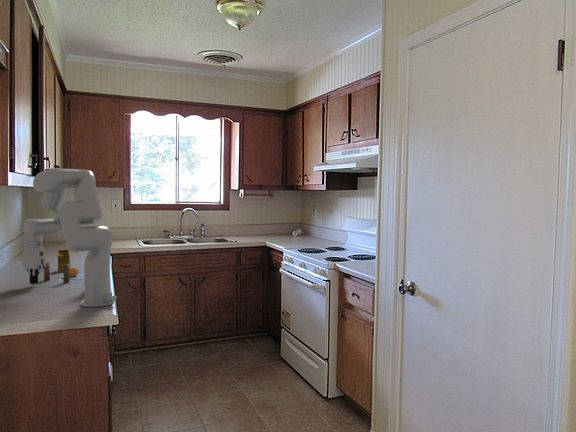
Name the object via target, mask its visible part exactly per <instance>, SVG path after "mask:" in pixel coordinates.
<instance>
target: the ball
mask: <svg viewBox="0 0 576 432" xmlns="http://www.w3.org/2000/svg"><path fill="white" fill-rule="evenodd" d="M79 272H80V270H79V268H78V267H77V266H74V265H72V266H70V268H69V276H71V277H75V276H77V275H78V273H79Z"/></svg>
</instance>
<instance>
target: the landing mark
mask: <svg viewBox="0 0 576 432" xmlns="http://www.w3.org/2000/svg"><path fill="white" fill-rule="evenodd" d="M56 278H57V279H63V275H62V276H59V277H56ZM69 280H74V281H81V280H85V277H84V273H78V275H77V276H75V277H71V276H69Z"/></svg>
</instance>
